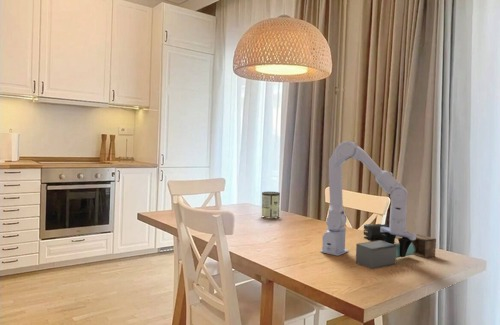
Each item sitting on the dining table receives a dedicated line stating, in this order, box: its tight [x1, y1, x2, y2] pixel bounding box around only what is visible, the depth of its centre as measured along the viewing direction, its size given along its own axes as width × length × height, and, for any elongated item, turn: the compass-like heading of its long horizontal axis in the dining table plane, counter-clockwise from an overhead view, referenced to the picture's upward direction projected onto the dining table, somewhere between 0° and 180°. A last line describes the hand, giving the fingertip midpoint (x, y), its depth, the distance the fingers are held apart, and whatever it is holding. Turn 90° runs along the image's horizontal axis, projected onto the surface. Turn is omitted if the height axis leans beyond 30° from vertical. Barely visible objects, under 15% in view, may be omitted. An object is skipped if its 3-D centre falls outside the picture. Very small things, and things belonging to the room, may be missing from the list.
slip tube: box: [394, 242, 415, 259], centre depth 142 cm, size 24×5×5 cm, turn 120°
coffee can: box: [261, 191, 281, 219], centre depth 221 cm, size 10×10×14 cm
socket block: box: [412, 233, 437, 259], centre depth 152 cm, size 5×8×7 cm, turn 30°
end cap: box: [363, 223, 390, 241], centre depth 175 cm, size 10×7×7 cm
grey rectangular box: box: [355, 239, 397, 270], centre depth 139 cm, size 12×8×7 cm, turn 120°
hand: (396, 254), depth 144 cm, fingers open, 5 cm apart
